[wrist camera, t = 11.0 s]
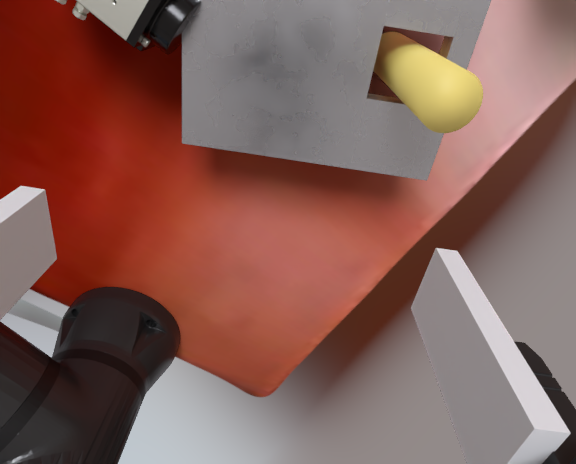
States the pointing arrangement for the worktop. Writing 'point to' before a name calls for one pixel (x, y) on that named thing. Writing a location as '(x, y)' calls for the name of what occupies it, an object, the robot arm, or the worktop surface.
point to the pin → (428, 83)
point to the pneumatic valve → (142, 20)
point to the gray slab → (313, 79)
